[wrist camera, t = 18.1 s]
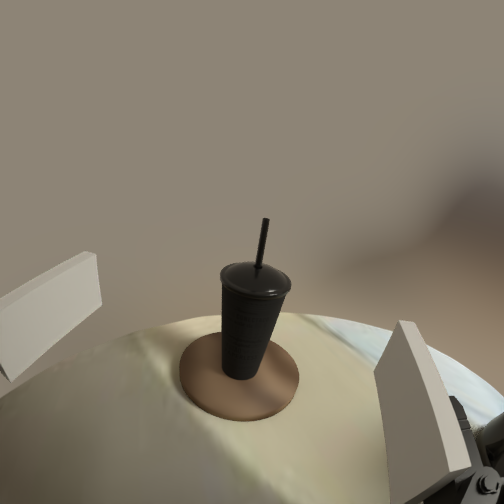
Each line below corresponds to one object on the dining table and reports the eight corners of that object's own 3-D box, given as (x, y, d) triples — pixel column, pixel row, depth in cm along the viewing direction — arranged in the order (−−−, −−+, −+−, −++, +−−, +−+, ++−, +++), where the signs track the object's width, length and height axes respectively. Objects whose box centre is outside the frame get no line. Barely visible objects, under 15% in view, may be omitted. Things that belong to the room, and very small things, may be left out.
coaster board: (253, 329, 45) (254, 322, 44) (319, 390, 33) (322, 383, 32) (162, 352, 36) (162, 344, 35) (216, 440, 24) (217, 434, 23)
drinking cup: (229, 396, 29) (256, 232, 22) (201, 357, 34) (214, 209, 27) (279, 376, 33) (320, 230, 26) (248, 344, 39) (272, 209, 32)
